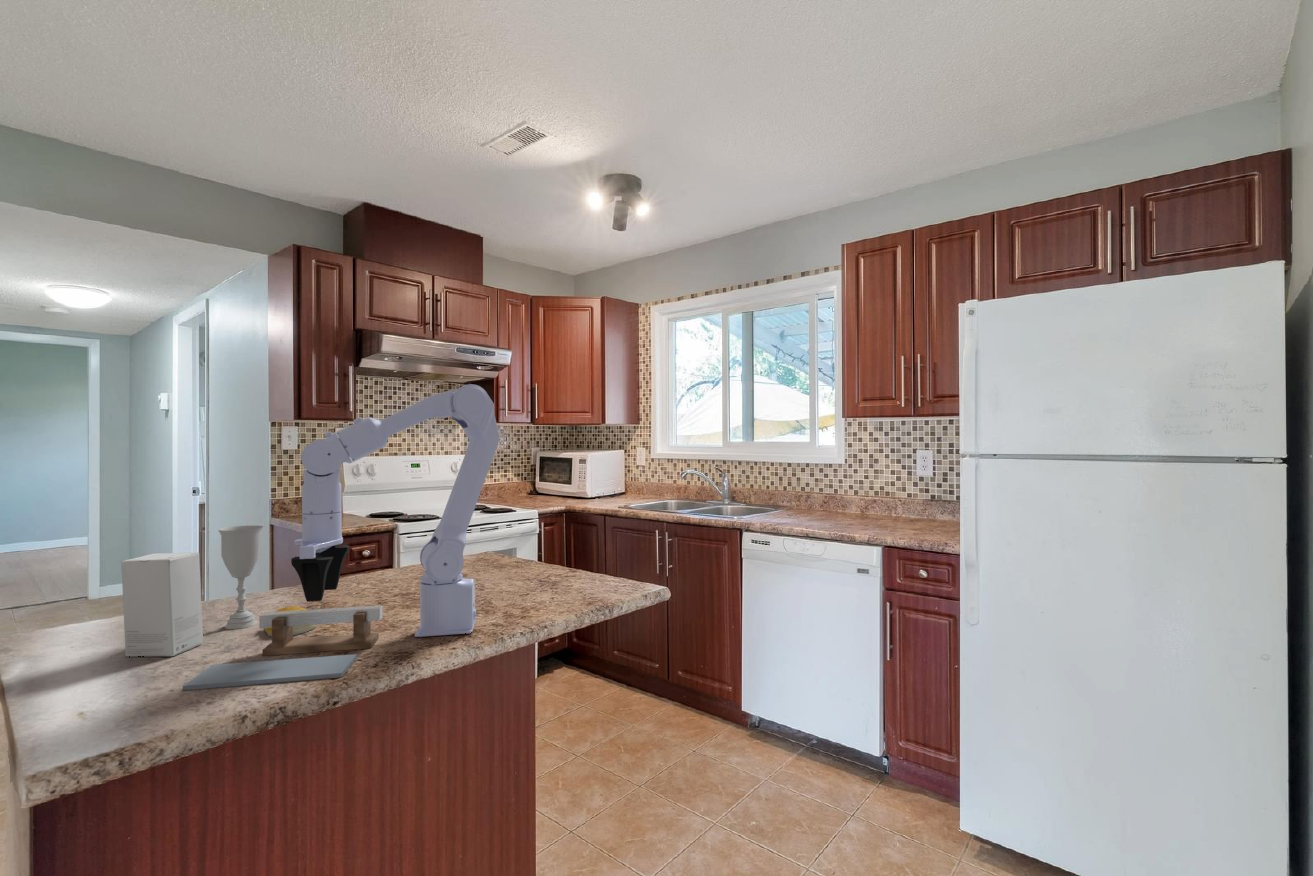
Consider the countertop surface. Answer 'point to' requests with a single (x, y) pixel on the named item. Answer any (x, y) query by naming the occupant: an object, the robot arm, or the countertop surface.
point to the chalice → (240, 566)
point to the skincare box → (162, 604)
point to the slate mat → (271, 671)
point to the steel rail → (321, 616)
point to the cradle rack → (319, 639)
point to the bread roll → (295, 628)
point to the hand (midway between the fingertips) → (322, 595)
